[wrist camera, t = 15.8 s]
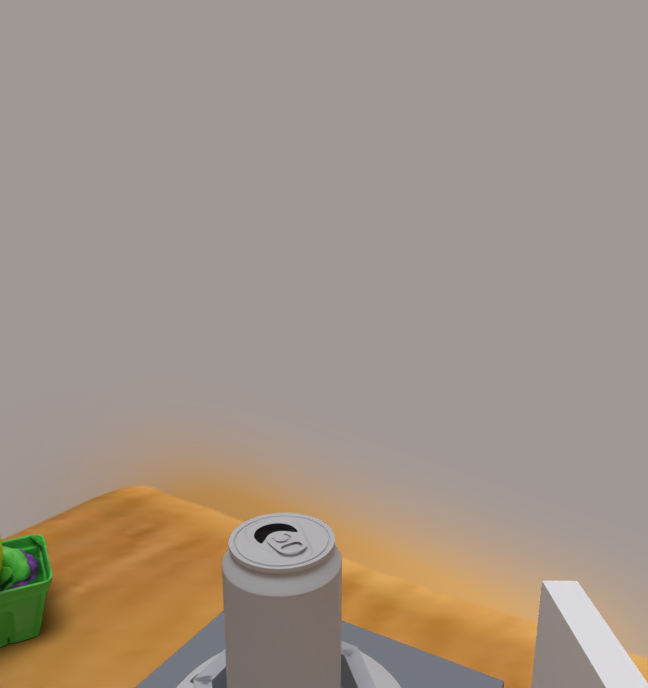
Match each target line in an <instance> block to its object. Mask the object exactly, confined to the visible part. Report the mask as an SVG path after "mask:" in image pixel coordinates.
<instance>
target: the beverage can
mask: <svg viewBox="0 0 648 688" xmlns="http://www.w3.org/2000/svg"><path fill="white" fill-rule="evenodd" d="M222 575H223V601H224V627H225V653H226V679H227V688H341V600H342V558H341V554H340V551H339V550H338V548H337V547H336V545H335V536H334V533H333V531H332V529H331V528H330V527H329V526H328V525H327V524H326V523H324V522H323V521H321V520H319V519H317V518H314V517H311V516H308V515H304V514H298V513H272V514H266V515H262V516H258V517H255V518H252V519H250V520H248V521H246V522H244V523H242V524H241V525H239V526H238V527H237V528H236V529H235V530H234V531H233V532H232V533H231V535H230V538H229V549H228V551H227V552H226V554H225V556H224V558H223V562H222Z"/></svg>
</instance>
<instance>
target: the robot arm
mask: <svg viewBox="0 0 648 688" xmlns="http://www.w3.org/2000/svg"><path fill="white" fill-rule="evenodd" d="M531 688H648V683H647V682H646V680H645V679H644V677H643V676H642V674H641V673H640V671H639V670H638V669H637V667H636V666H635V664H634V663H633V661H632V660H631V658H630V657H629V655H628V654H627V653H626V651H625V650H624V648H623V647H622V645H621V644H620V642H619V641H618V640H617V638H616V637H615V635H614V634H613V632H612V631H611V629H610V628H609V626H608V625H607V624H606V622H605V621H604V619H603V618H602V616H601V615H600V613H599V612H598V611H597V609H596V608H595V606H594V605H593V603H592V602H591V600H590V599H589V597H588V596H587V595H586V593H585V592H584V590H583V589H582V587H581V586H580V585H579V583H578V581H542V587H541V597H540V607H539V618H538V627H537V637H536V647H535V657H534V667H533V677H532V687H531Z"/></svg>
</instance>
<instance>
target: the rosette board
mask: <svg viewBox="0 0 648 688" xmlns="http://www.w3.org/2000/svg"><path fill="white" fill-rule="evenodd" d="M135 688H227V679H226V653H225V627H224V611H223V612H222V613H220V614H219V615H218V616H217V617H216V618H215V619H214V620H212V621H211V622H210V623H209V624H208V625H207V626H206V627H204V628H203V629H202V630H201V631H200V632H199V633H197V634H196V635H195V636H194V637H193V638H192V639H191V640H189V641H188V642H187V643H186V644H185V645H184V646H183V647H181V648H180V649H179V650H178V651H177V652H176V653H174V654H173V655H172V656H171V657H170V658H169V659H168V660H166V661H165V662H164V663H163V664H162V665H161V666H159V667H158V668H157V669H156V670H155V671H154V672H153V673H151V674H150V675H149V676H148V677H147V678H146V679H145V680H143V681H142V682H141V683H140V684H139V685H138V686H136V687H135ZM341 688H504V681H502V680H499V679H497V678H494V677H491V676H489V675H486V674H483V673H481V672H478V671H475V670H472V669H470V668H467V667H464V666H462V665H459V664H456V663H454V662H451V661H448V660H446V659H443V658H440V657H438V656H435V655H432V654H430V653H427V652H424V651H422V650H419V649H416V648H414V647H411V646H408V645H406V644H403V643H400V642H398V641H395V640H392V639H390V638H387V637H384V636H382V635H379V634H376V633H374V632H371V631H368V630H365V629H363V628H360V627H357V626H355V625H352V624H349V623H347V622H344V621H341Z"/></svg>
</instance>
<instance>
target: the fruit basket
mask: <svg viewBox="0 0 648 688" xmlns="http://www.w3.org/2000/svg"><path fill="white" fill-rule="evenodd" d="M51 580H52V571H51V567H50V562H49V557H48V553H47V548H46V543H45V538H44V536H42V535H28V536H24V537H20V538H16V539H11V540H6V541H2V539H1V536H0V648H1V647H3V646H5V645H7V644H8V643H9V642H10V643H16V642H20V641H24V640H27V639H30V638H33V637H36V636H38V635H39V632H40V627H41V622H42V617H43V611H44V606H45V601H46V596H47V590H48V588H49V587H50V584H51Z"/></svg>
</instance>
